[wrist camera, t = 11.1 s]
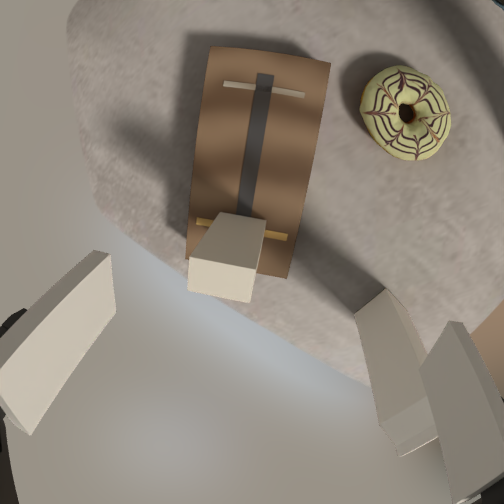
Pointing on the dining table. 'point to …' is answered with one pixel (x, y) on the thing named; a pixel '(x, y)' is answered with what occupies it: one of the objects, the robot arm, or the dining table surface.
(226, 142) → the brown flat block
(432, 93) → the decorated donut
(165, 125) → the dining table surface
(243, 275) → the fader tab
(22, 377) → the robot arm
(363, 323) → the milk
